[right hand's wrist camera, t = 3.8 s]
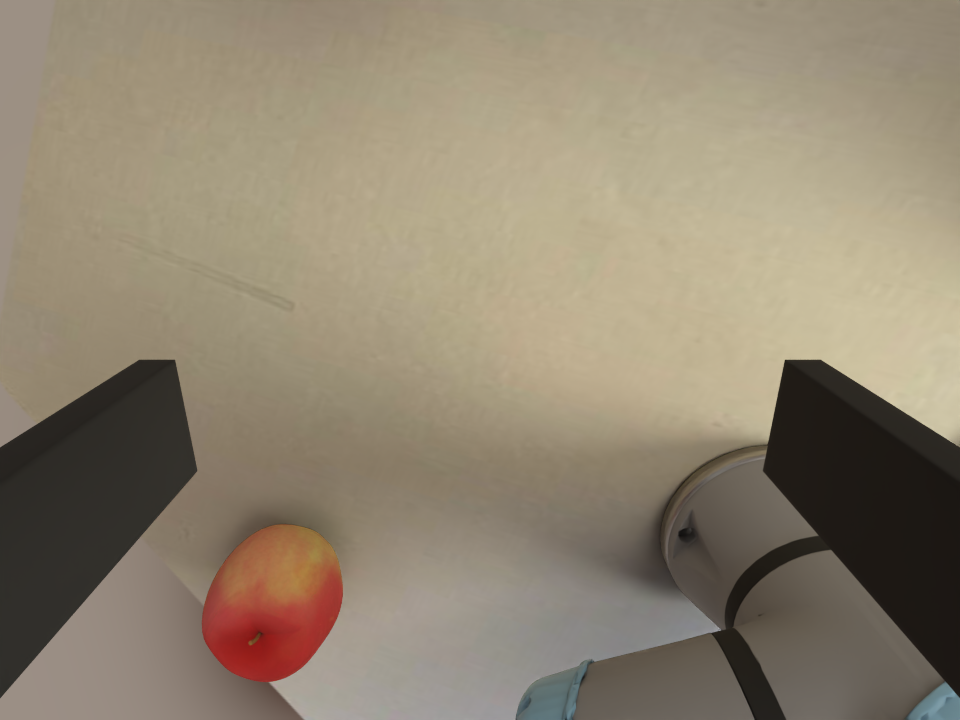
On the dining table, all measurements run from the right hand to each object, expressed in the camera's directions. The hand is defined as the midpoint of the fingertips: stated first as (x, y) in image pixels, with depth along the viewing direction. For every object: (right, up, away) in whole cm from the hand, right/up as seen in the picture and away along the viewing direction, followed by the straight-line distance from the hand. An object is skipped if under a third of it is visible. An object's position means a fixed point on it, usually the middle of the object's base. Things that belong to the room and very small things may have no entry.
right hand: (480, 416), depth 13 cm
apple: (-15, -14, +35) cm, 40 cm away
